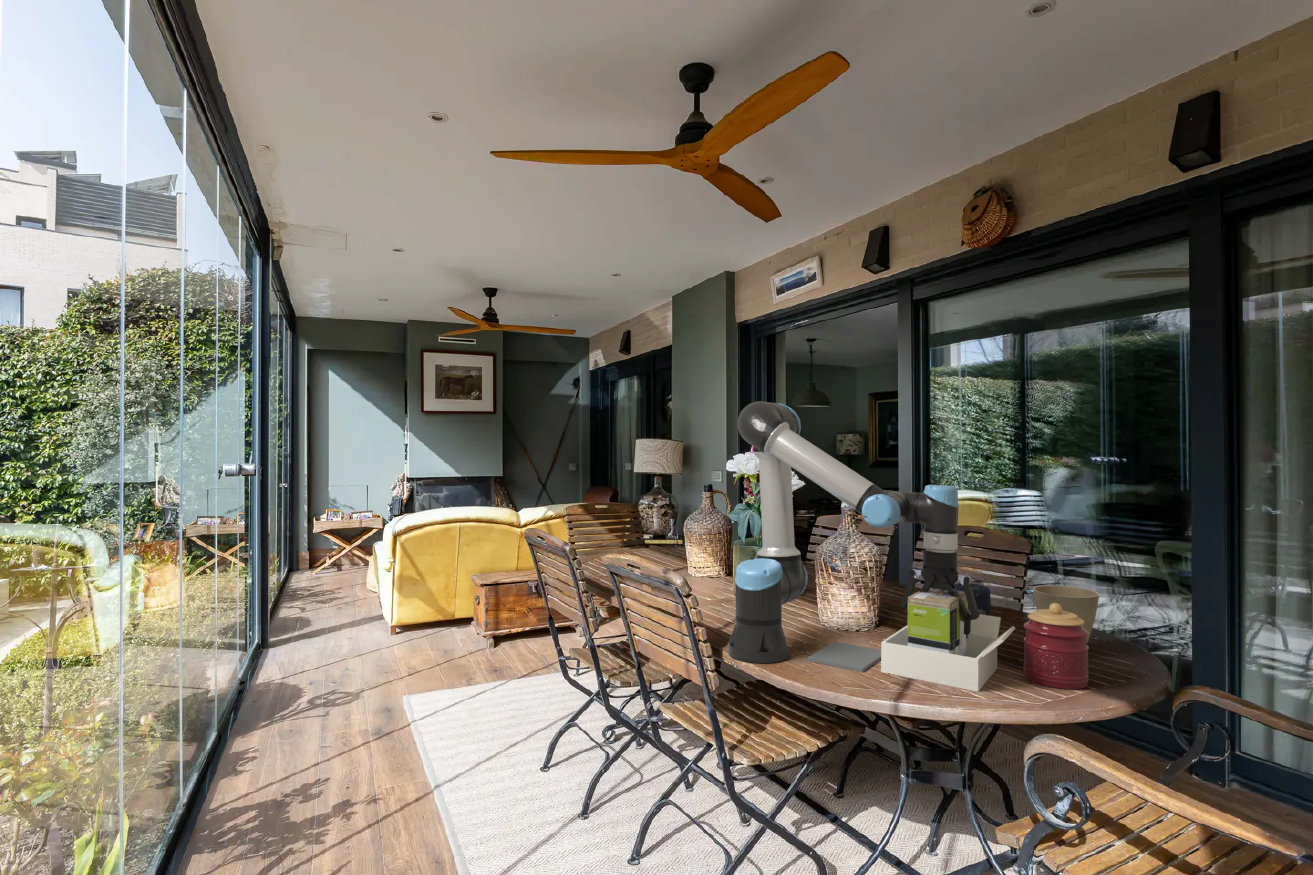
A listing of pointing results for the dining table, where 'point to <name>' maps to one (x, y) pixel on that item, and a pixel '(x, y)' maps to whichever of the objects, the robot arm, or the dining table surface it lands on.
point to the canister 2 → (1056, 649)
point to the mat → (847, 656)
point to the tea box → (935, 621)
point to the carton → (947, 657)
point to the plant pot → (1069, 602)
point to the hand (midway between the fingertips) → (938, 643)
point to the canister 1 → (979, 597)
